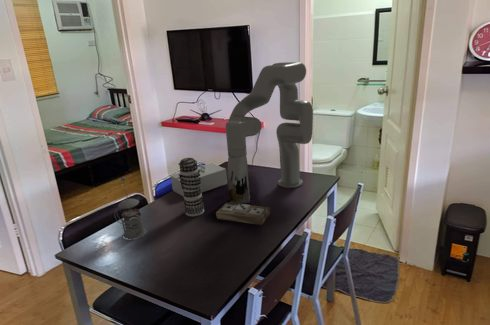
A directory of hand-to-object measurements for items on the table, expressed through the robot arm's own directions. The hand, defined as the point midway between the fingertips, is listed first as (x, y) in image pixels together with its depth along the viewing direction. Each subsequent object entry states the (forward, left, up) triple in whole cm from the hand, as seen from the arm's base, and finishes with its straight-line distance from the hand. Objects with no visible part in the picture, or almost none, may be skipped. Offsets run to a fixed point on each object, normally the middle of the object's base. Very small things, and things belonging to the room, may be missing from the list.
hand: (240, 193), depth 146 cm
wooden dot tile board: (0, 0, -11) cm, 11 cm away
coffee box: (-14, -8, -11) cm, 20 cm away
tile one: (0, -6, -10) cm, 12 cm away
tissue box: (-25, -36, -11) cm, 45 cm away
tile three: (0, 0, -9) cm, 9 cm away
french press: (+26, -38, -11) cm, 47 cm away
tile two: (0, +7, -10) cm, 12 cm away
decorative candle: (+2, -23, -11) cm, 25 cm away
